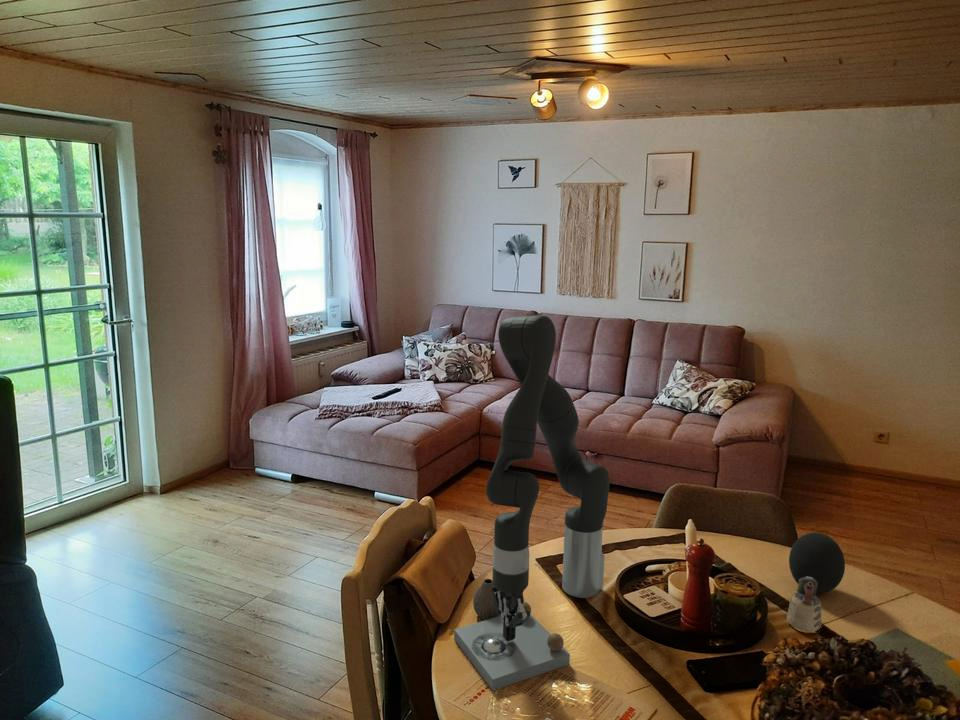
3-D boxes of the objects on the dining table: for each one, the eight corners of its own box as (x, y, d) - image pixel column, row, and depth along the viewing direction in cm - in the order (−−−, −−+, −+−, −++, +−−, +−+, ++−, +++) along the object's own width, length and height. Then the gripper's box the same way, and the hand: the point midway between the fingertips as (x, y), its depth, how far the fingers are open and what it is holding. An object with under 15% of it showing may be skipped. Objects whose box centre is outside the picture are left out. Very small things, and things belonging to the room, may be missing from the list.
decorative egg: (794, 601, 163) (801, 544, 160) (780, 575, 175) (786, 521, 172) (848, 606, 162) (856, 549, 158) (830, 579, 173) (838, 525, 170)
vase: (499, 626, 152) (500, 591, 151) (470, 622, 154) (470, 587, 152) (504, 609, 159) (505, 575, 157) (476, 605, 160) (476, 571, 158)
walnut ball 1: (526, 610, 154) (526, 597, 153) (533, 618, 151) (534, 605, 150) (513, 614, 152) (513, 601, 152) (520, 622, 149) (521, 608, 149)
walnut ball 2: (557, 642, 143) (558, 628, 142) (566, 651, 140) (567, 637, 139) (543, 647, 141) (544, 632, 140) (552, 656, 138) (553, 641, 137)
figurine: (821, 621, 155) (827, 574, 153) (820, 638, 149) (826, 589, 147) (787, 613, 159) (793, 566, 156) (785, 628, 153) (791, 580, 150)
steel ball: (483, 633, 142) (478, 649, 143) (489, 647, 138) (484, 663, 139) (500, 634, 143) (494, 650, 144) (507, 647, 140) (501, 663, 141)
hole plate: (525, 618, 155) (525, 608, 155) (569, 664, 140) (569, 653, 139) (454, 639, 147) (454, 629, 147) (492, 690, 132) (492, 679, 131)
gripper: (543, 574, 135) (540, 651, 138) (510, 545, 146) (509, 617, 150) (510, 583, 131) (508, 661, 135) (480, 553, 143) (479, 626, 147)
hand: (509, 638), depth 143 cm, fingers closed
